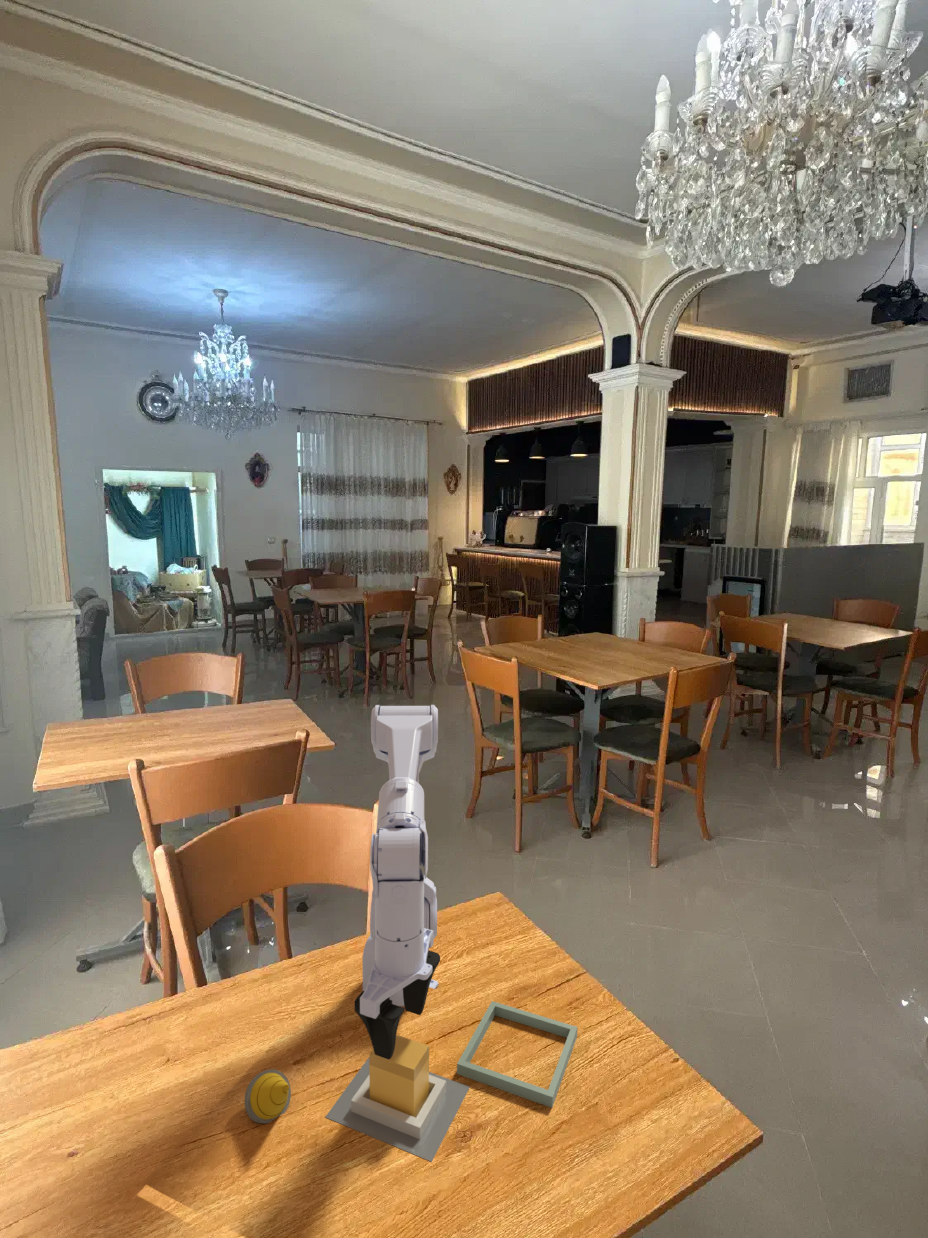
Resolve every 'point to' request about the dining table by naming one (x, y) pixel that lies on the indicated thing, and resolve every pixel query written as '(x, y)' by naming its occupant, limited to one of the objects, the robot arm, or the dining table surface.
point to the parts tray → (508, 1082)
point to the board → (400, 1114)
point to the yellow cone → (267, 1096)
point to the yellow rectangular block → (401, 1077)
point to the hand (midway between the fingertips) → (399, 1032)
